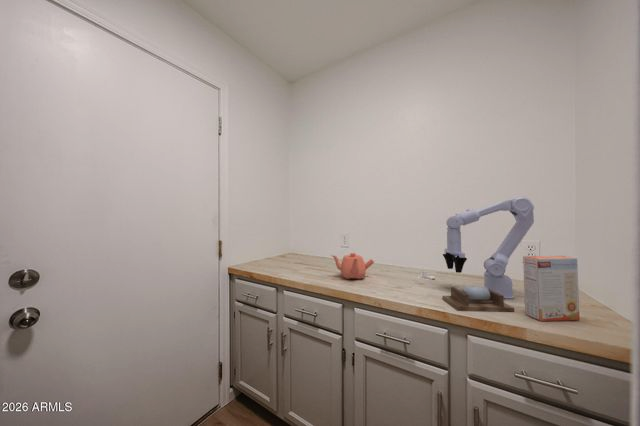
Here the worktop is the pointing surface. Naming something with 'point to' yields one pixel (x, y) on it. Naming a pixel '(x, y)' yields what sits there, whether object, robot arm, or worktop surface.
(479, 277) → the worktop surface
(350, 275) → the teapot
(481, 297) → the roll
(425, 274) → the teacup and saucer
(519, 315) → the worktop surface
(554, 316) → the cracker box
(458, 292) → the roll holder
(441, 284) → the worktop surface
